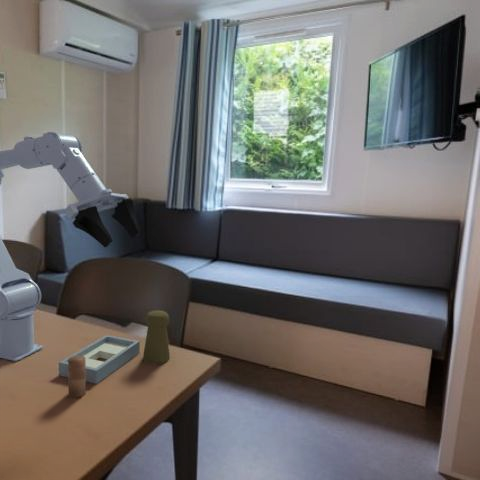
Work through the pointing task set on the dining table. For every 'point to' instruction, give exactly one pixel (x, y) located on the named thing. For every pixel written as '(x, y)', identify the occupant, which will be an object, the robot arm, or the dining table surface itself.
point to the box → (105, 348)
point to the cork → (156, 338)
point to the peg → (76, 376)
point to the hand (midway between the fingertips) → (123, 239)
